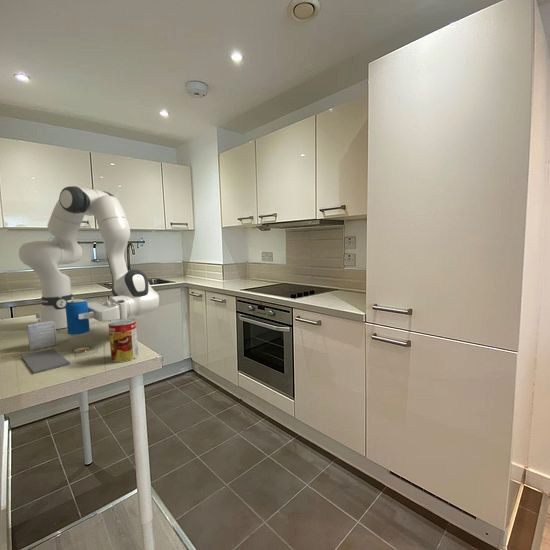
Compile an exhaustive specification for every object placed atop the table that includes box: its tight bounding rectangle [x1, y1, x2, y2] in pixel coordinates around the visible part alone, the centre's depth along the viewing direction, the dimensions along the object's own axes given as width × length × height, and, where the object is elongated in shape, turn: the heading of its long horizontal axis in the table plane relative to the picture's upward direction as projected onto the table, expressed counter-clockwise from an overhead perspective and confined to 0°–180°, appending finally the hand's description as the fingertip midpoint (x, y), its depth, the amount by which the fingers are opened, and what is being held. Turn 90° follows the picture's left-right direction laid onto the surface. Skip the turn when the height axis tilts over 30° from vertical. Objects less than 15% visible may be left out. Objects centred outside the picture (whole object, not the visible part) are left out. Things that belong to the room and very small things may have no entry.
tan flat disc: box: [72, 346, 91, 354], centre depth 109 cm, size 5×5×1 cm
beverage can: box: [65, 298, 91, 337], centre depth 108 cm, size 6×6×12 cm
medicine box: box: [26, 321, 58, 351], centre depth 114 cm, size 8×4×9 cm, turn 134°
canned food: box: [108, 318, 139, 363], centre depth 100 cm, size 8×8×12 cm
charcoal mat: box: [21, 348, 71, 374], centre depth 100 cm, size 20×9×1 cm, turn 47°
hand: (74, 314), depth 107 cm, fingers closed on beverage can, 6 cm apart
